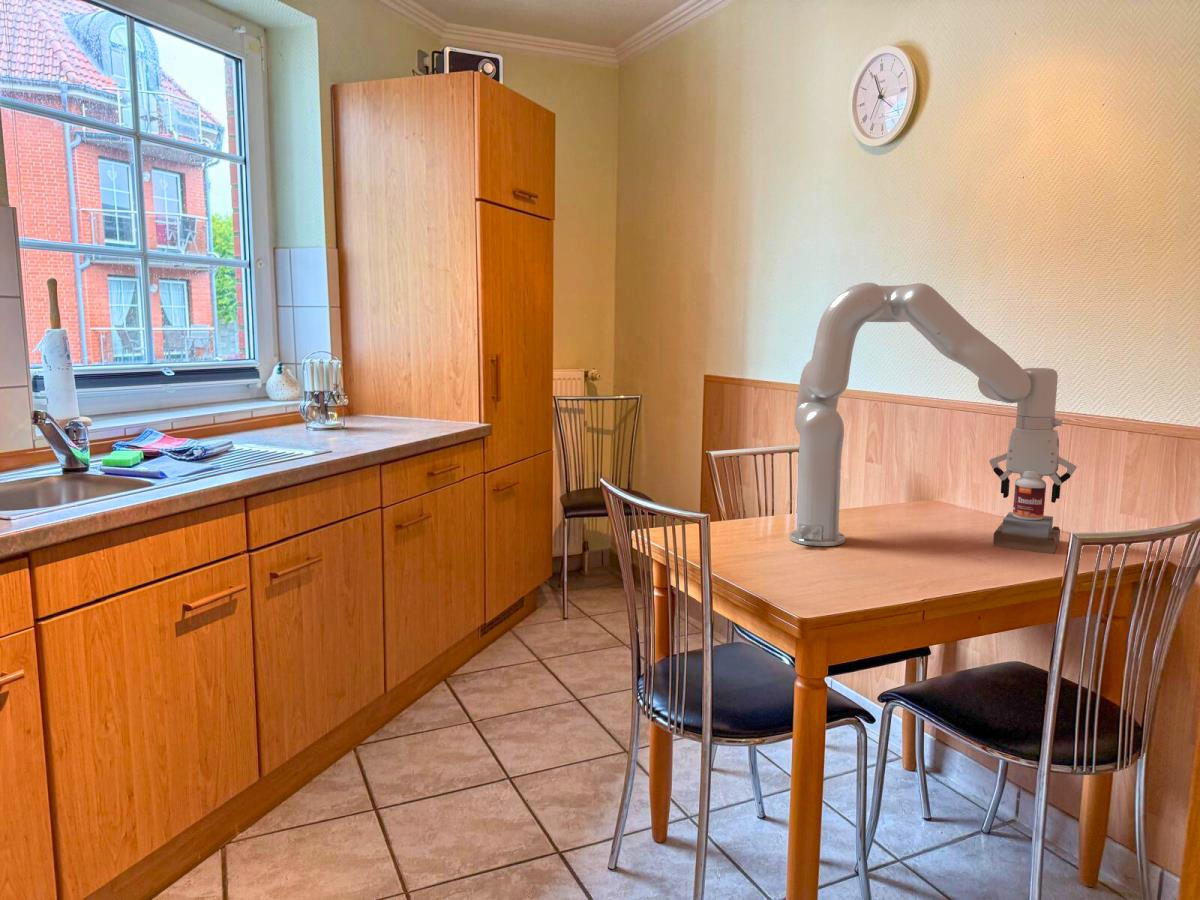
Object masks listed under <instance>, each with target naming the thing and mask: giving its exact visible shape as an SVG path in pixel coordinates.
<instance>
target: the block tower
mask: <svg viewBox="0 0 1200 900" xmlns="http://www.w3.org/2000/svg"><path fill="white" fill-rule="evenodd" d="M1053 523H1054V516H1052V515H1044V516H1043V519H1042V520H1037V521H1030V520H1022V519H1018V518H1015V517H1014V516H1013V511H1009V512H1008V513H1007V515H1005V517H1004V518H1003V520H1002V522H1001V523H1000V525H999V526H998V527H997V528H996V530H995V531H994V532H993V539H992V543H993V544H992V547H997V548H1007V549H1015V550H1022V551H1027V552H1028V551H1029V552H1037V553H1045V554H1050V555H1051V554H1052V555H1054V554H1055V552H1056V550H1057V548H1058V545H1059V543H1060V541H1061V540H1060V538H1061V528H1060V526H1053Z"/></svg>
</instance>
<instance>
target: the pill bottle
mask: <svg viewBox="0 0 1200 900" xmlns="http://www.w3.org/2000/svg"><path fill="white" fill-rule="evenodd" d="M1019 476H1020V477H1019V478H1017V479H1016V480H1015V482H1014V483H1015V485H1014V496H1013V497H1014V498H1013V504H1012V505H1013V507H1012V512H1013V516H1014V517H1015V518H1018V519H1022V520H1030V521H1037V520H1042V519H1043V516H1045V515H1044V514H1045V513H1044V512H1045V505H1046V504H1045V502H1046V501H1045V500H1046V492H1047V483H1046V481H1045V480H1043V478H1044V476H1042V475H1038V474H1037V472H1030V471H1025V472H1024V473H1022V474H1019Z"/></svg>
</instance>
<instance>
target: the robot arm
mask: <svg viewBox="0 0 1200 900" xmlns="http://www.w3.org/2000/svg"><path fill="white" fill-rule="evenodd" d="M819 320H820V321H819V322H818V326H817V329H816V330H817V331H816V336H815V340H814V345H813V350H812V355H811V359H810V360H809V361H808V362H806V363H805V366H804V367H803V368H802V372H801V374H800V379H799V386H798V392H797V397H796V404H795V405H796V406H795V412H794V426H795V430H796V431H797V433H798V434H799V444H798V445H799V446H798V459H797V493H796V494H797V499H796V500H797V502H796V503H797V504H796V529H795V530H792V531H790V533H789V539H790V541H792V542H794V543H796V544H799V545H805V546H813V547H834V546H840V545H842V544H844V543H845V542H846V535H845V534H843V533H842V532H839V528H840V500H841V469H842V468H841V467H842V453H843V445H844V437H845V426H844V421H843V419H842V418H843V417H842V416H841V414H840V413H839V412H838V411H837V408H838V402H839V398H840V396H841V395H842V394H843V393H844V392H845V391H846V389H847V387H848V384H849V379H850V369H851V363H852V359H853V350H854V346H855V341H856V338H857V335H858V333H859V331H860V329H861V328H862V327H863V326H864V325H865V324H866V323H909V324H910V325H911V326H912V327H914V328H915V330H916V331H917V332H919V333H920V334H921V335H922V336H923V337H924V338H925V339H926V340H927V341H928V342H929V343H930V344H931V345H932V346H933V347H934V348H935V349H936V350H937V351H938V352H939V353H940V354H941V355H942V356H944V357H945V358H947V359H949V360H950V361H952V362H955V363H957V364H959V365H961V366H963V368H965V369H967V370H968V371H970V372H971V373H973V375H975V376H976V377H978V382H977V388H978V390H979V392H980V393H981V395H983V396H984V397H985V398H987V399H990V400H992V401H996V402H1002V403H1005V404H1016V416H1015V417H1016V419H1015V427H1014V428H1012V429H1011V432H1010V437H1009V440H1008V446H1007V447H1008V448H1007V452H1006V453H1003V454H1000V455H998V456H995V457H993V458H991V459H989V461H988V462H989V464H990V466H991V468H992V470H993V473H994V474H996V475H997V477H998V478H999V480H1000V481H1001V483H1000V494H1002V495H1003V496H1002V497H1003V498H1004V499H1006V498H1008V497H1009V495H1010V478H1009V476H1011V475H1012V474H1017V475H1018V474H1019V475H1020V474H1022V473H1024V472H1025V471H1030V472H1037V474H1038V475H1042V476H1043V477H1049V478H1050V479H1051V480H1052V481H1053V484H1052V487H1051V499H1050V502H1051V503H1052V504H1055V503H1056V502H1057V500H1059V499H1060V497H1061V487H1062V486H1061V485H1062V484H1063V483H1065V482H1066V481H1067V480H1069V479H1070V478H1071V477H1072V476H1073V474H1074V473H1075V471H1076V470H1077V468H1078V467H1077V465H1076V464H1074V463H1073V462H1070V461H1069V460H1066V459H1065V458H1063V457H1061V456H1060V438H1059V431H1058V430H1056V429H1055V428H1056V427H1058V426H1059V427H1062V425H1063V420H1062V419H1057V417H1056V404H1057V390H1058V377H1059V376H1058V375H1059V374H1058V371H1056V370H1055V369H1053V368H1049V367H1025V368H1022V367H1021V366H1020V365H1019V364H1018V363H1017V362H1016V361H1015V360H1014V358H1012V357H1011V356H1010V355H1009V354H1008V353H1007V352H1006V351H1005V350H1003V349H1002V348H1001V347H1000V346H998V345H997V344H996V343H995V342H994V341H992V340H991V339H989V338H988V337H987V336H986V335H985V334H984V333H983V332H981V331H980V330H978V329H977V328H975V327H974V326H973V325H972V324H971V323H970V322H969V321H968V320H967V319H965V318H964V316H962V314H961V313H959V312H958V311H957V310H956V309H955V308H954V307H953V306H952V305H951V304H950V303H949V302H948V300H946V299H945V298H944V297H943V296H942V295H941V294H940V293H939V292H938V291H937V290H936V289H934V288H933V287H932V286H930V285H929V284H927V283H921V282H920V283H919V282H918V283H912V284H903V285H901V284H900V285H879V284H877V283H875V282H862V283H859V284H855V285H851V286H850V287H848V288H847V289H846V290H845V291H843V292H842V293H841V294H839V295H838V296H836V298H834V299H833V300H832V302H830V304H829V305H828V306H827V308H825V311H823V313H822V316H821V318H820V319H819ZM1003 461H1005V462H1006V465H1005V466H1006V470H1005V471H1004V470H1003V469H1002V468H1001V467H1000V466H999V464H998V463H1001V462H1003ZM1059 466H1063V467H1064V468H1066V469H1067V470H1066V472H1065V473H1064V474H1062V475H1061V476H1060V475H1059V473H1058V471H1059Z"/></svg>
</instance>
